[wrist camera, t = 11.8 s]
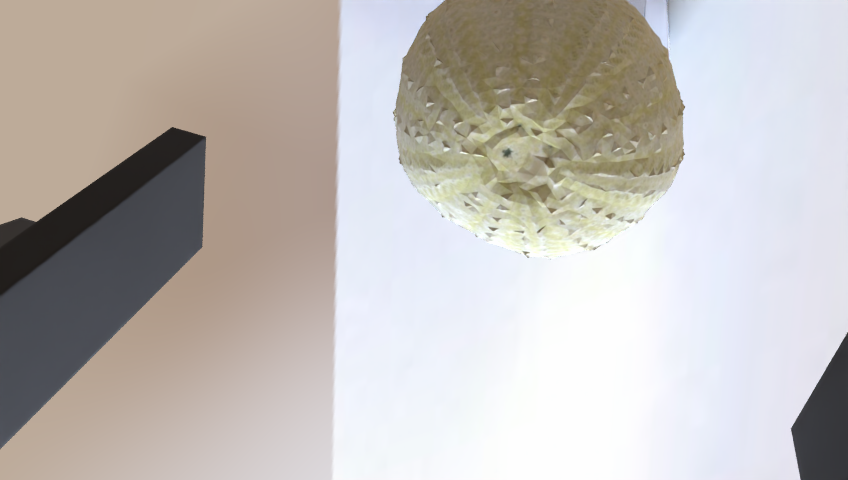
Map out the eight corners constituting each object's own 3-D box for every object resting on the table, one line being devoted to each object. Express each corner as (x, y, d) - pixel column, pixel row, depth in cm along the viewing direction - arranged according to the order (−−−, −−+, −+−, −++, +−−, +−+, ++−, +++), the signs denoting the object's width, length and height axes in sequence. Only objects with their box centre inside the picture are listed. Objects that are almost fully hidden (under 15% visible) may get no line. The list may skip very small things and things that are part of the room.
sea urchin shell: (536, 310, 29) (384, 282, 23) (466, 140, 33) (319, 77, 27) (765, 170, 25) (649, 90, 19) (655, -11, 28) (528, -126, 22)
